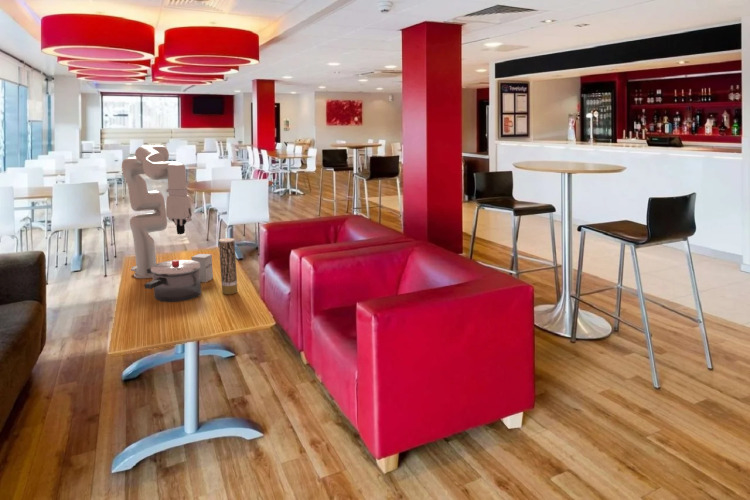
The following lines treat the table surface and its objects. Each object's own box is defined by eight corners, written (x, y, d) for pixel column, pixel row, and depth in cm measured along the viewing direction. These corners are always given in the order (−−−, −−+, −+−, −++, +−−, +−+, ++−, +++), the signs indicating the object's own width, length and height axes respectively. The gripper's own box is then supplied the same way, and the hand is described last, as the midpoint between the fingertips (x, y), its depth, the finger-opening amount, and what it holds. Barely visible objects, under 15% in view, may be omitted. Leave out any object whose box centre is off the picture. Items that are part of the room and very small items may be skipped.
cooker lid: (140, 273, 239) (139, 265, 239) (169, 261, 259) (169, 254, 258) (183, 276, 234) (182, 269, 233) (209, 264, 254) (209, 257, 253)
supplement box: (206, 282, 268) (204, 257, 265) (192, 281, 270) (190, 256, 267) (213, 278, 275) (212, 254, 273) (200, 277, 277) (198, 253, 274)
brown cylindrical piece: (230, 289, 257) (227, 237, 252) (240, 292, 254) (237, 239, 248) (219, 293, 252) (215, 240, 246) (229, 295, 248) (225, 241, 242)
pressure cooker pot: (123, 306, 234) (120, 279, 231) (166, 286, 262) (164, 262, 259) (171, 311, 228) (168, 283, 225) (209, 290, 256) (207, 265, 254)
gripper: (157, 192, 236) (160, 234, 240) (188, 194, 232) (191, 236, 237) (167, 190, 243) (171, 230, 247) (198, 192, 239) (200, 233, 244)
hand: (181, 233), depth 242 cm, fingers closed
